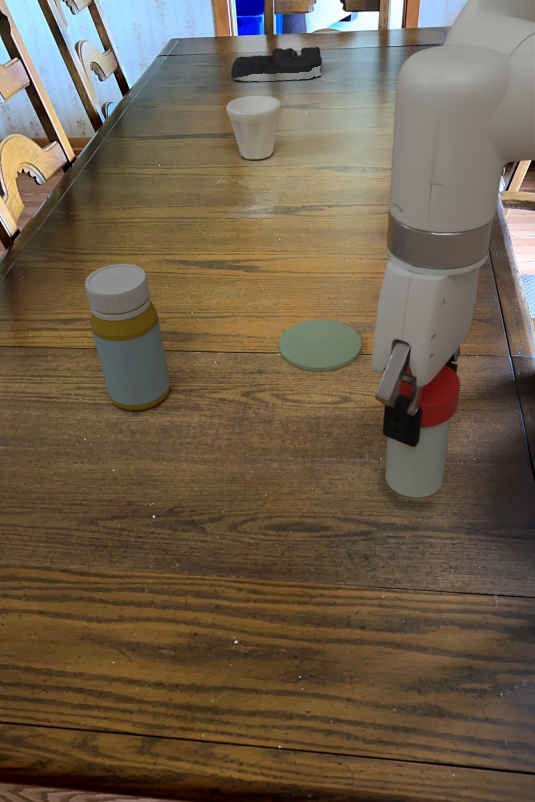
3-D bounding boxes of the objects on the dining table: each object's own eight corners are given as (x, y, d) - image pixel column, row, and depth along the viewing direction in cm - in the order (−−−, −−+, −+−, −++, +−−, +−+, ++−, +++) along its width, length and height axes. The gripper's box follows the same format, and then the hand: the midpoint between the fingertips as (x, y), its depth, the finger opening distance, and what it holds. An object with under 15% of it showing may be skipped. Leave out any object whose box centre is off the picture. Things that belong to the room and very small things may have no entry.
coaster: (376, 337, 87) (376, 333, 87) (335, 381, 81) (335, 377, 81) (306, 315, 92) (306, 311, 92) (262, 355, 86) (262, 351, 86)
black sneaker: (235, 65, 182) (233, 45, 179) (321, 61, 180) (321, 40, 177) (229, 83, 170) (227, 62, 167) (322, 79, 168) (322, 57, 165)
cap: (371, 411, 63) (372, 389, 61) (404, 372, 67) (405, 351, 65) (438, 436, 60) (441, 414, 58) (468, 394, 64) (472, 372, 62)
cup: (242, 169, 130) (238, 117, 124) (222, 151, 137) (217, 101, 131) (292, 157, 133) (290, 106, 127) (270, 141, 140) (267, 91, 134)
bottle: (173, 408, 79) (151, 291, 70) (109, 418, 79) (79, 301, 69) (169, 371, 85) (148, 257, 75) (110, 379, 84) (81, 266, 74)
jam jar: (453, 468, 70) (465, 379, 62) (428, 506, 66) (438, 416, 59) (400, 448, 72) (406, 360, 65) (374, 483, 69) (377, 395, 62)
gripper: (440, 181, 60) (421, 355, 71) (335, 272, 49) (333, 459, 61) (529, 199, 56) (494, 379, 68) (436, 301, 46) (414, 493, 57)
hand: (418, 415), depth 64 cm, fingers closed on cap, 6 cm apart
